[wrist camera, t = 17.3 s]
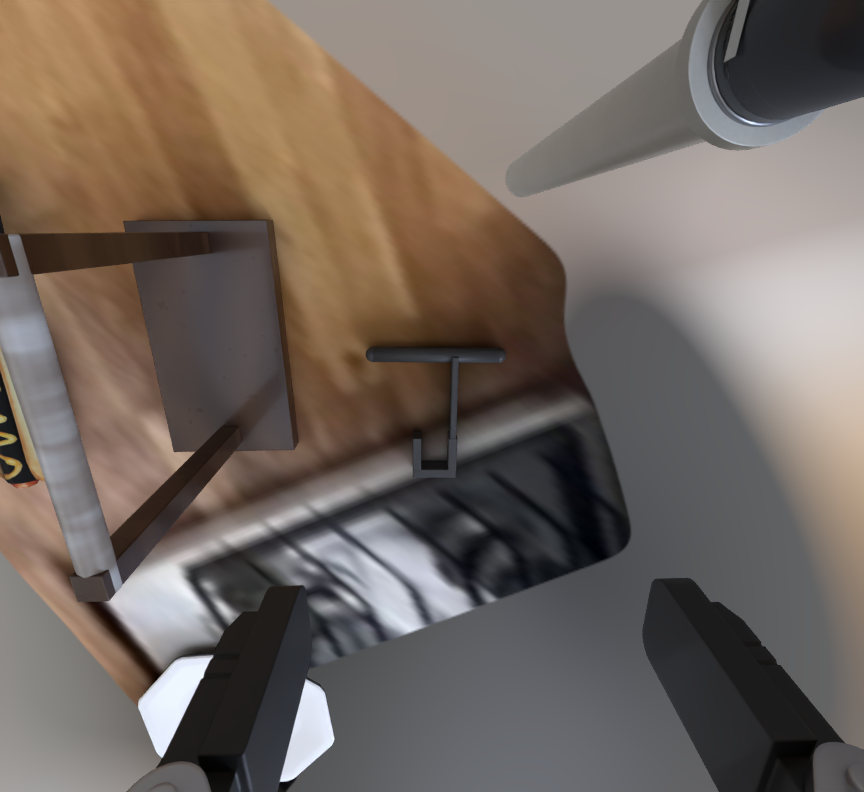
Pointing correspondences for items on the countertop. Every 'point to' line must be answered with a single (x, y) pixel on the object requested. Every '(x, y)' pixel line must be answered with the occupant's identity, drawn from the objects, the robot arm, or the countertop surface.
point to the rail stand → (175, 366)
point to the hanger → (455, 357)
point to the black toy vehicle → (1, 227)
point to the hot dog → (15, 437)
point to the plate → (178, 687)
